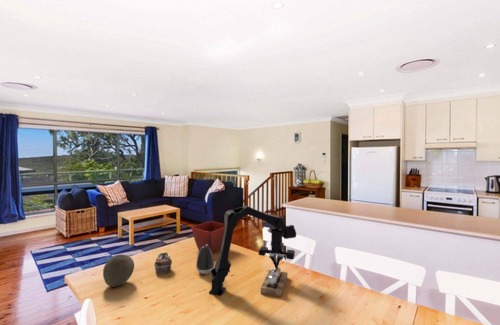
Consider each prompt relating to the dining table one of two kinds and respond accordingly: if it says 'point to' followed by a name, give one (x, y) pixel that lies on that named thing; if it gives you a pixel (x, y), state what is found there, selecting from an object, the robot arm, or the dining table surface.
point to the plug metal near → (272, 280)
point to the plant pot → (209, 235)
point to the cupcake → (163, 263)
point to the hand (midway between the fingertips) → (276, 268)
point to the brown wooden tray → (278, 289)
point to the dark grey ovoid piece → (205, 260)
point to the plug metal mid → (275, 273)
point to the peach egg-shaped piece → (278, 270)
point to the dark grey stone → (118, 270)
